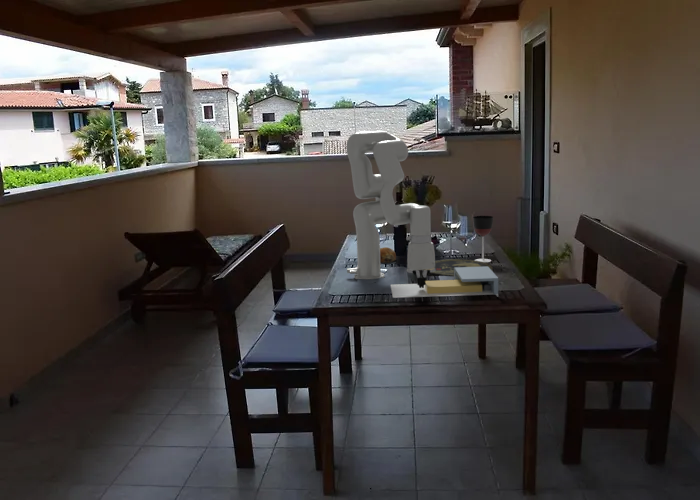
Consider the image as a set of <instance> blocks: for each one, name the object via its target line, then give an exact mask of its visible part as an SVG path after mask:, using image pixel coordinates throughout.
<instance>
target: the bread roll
mask: <svg viewBox="0 0 700 500" xmlns="http://www.w3.org/2000/svg"><path fill="white" fill-rule="evenodd" d="M396 260H397V255H396V252H395V251H394V250H393V249H392V248H390V247H385V246H384V247H380V264H381V263H382V264H383V263H392V262H395V261H396Z"/></svg>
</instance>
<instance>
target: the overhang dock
mask: <svg viewBox="0 0 700 500" xmlns="http://www.w3.org/2000/svg"><path fill="white" fill-rule="evenodd" d="M453 277H454V279H453V280H461V281H462V282H475V281H479V282H480V283H481V285H482V292H457V293H427V291H426V288H425V285H424V288H419V285H417V283H403V284H402V283H400V284H399V283H397V284H390V289H391V295H392V298H393V299H394V298H395V299H396V298H397V299H398V298H423V297H424V298H426V297H427V298H428V297H430V298H431V297H450V296H451V297H455V296H457V297H458V296H459V297H460V296H483V295H484V296H487V295H495V296H496V297H498V298H499V277H498V276H497V274H496V273H495V272H494V270H493V271H492V270H491V269H490V268H489V267H488V266H485V267H456V268H454V276H453Z"/></svg>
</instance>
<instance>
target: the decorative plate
mask: <svg viewBox="0 0 700 500" xmlns="http://www.w3.org/2000/svg"><path fill="white" fill-rule="evenodd" d="M475 260H476V259H474V260H472V259H462V258H460V259H459V258H458V259H457V258H456V259H455V258H454V259H441V260H440V259H439V260H435V269H436V271H434V272H430V273H429V274H428V275H427V276H430V277H454V268H456V267H485V266H488V267H489V268H490V269H491V270H492V271H493V272H494V267H493V265H492V264H489V262H481V261H475Z"/></svg>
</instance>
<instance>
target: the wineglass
mask: <svg viewBox="0 0 700 500" xmlns="http://www.w3.org/2000/svg"><path fill="white" fill-rule="evenodd" d="M472 221H473V228H474V229H473V230H474V232H475V233H476V234H478V235H479V236H481V241H482V242H481V250H482V251H481V258H477V259H474V260H475V261H481V262H485V263H490V262H492V260H491V259H490V258H489V259H488V258H485V257H484V256H485V253H484V252H485V245H484V244H485V241H484V240H485V236H487V235H489V234H490V233H491V232H492V229H493V223H494V216H492V215H475V216H473V217H472Z"/></svg>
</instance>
